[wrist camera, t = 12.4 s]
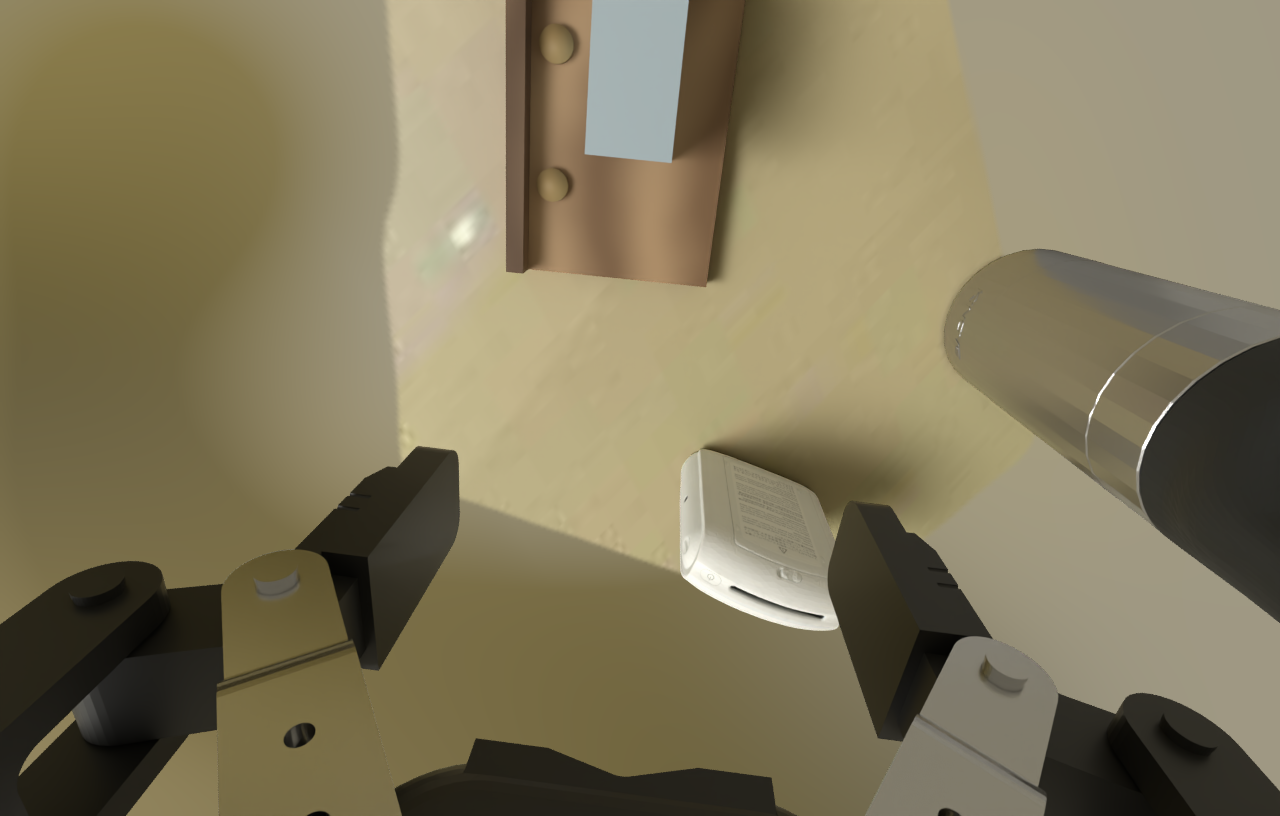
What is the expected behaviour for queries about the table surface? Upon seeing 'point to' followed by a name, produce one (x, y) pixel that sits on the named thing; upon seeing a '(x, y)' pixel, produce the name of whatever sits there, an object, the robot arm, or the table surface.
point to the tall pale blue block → (634, 78)
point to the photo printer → (755, 541)
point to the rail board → (609, 186)
